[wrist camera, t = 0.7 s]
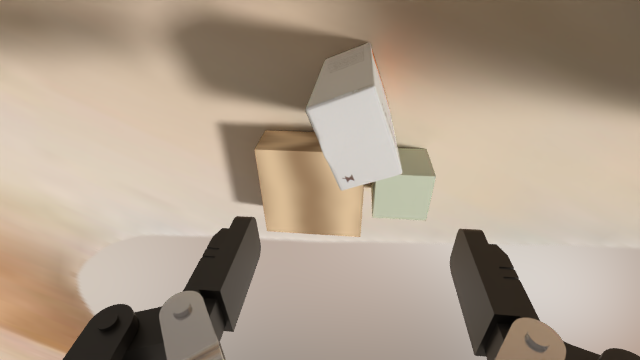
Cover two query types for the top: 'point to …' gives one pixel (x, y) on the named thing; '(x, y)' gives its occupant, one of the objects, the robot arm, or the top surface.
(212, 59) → the top surface
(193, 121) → the top surface
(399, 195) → the sage cube
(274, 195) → the block
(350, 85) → the skincare box
